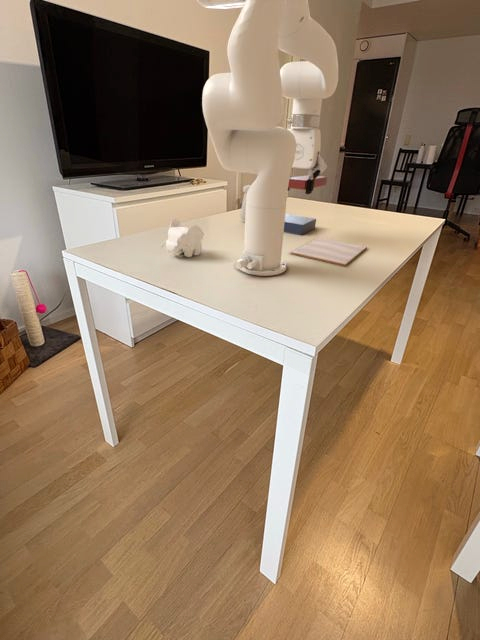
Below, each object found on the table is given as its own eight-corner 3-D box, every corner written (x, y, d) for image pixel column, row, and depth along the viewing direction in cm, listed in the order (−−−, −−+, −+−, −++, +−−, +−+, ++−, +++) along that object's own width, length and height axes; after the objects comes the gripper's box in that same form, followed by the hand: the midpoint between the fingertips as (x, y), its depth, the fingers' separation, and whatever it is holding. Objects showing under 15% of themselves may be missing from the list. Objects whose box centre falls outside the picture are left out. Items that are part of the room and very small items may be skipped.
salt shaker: (253, 224, 129) (255, 187, 122) (238, 222, 129) (239, 186, 123) (255, 220, 134) (257, 185, 127) (241, 219, 134) (242, 184, 128)
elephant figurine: (155, 255, 94) (152, 222, 89) (189, 246, 101) (188, 216, 97) (177, 264, 88) (175, 229, 84) (211, 254, 96) (211, 222, 91)
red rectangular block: (304, 189, 98) (305, 180, 97) (284, 187, 101) (285, 178, 100) (325, 185, 112) (327, 176, 111) (307, 183, 115) (308, 175, 114)
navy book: (301, 235, 117) (302, 224, 115) (258, 226, 125) (259, 217, 123) (315, 228, 126) (316, 218, 124) (274, 221, 134) (275, 212, 132)
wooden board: (345, 266, 91) (345, 264, 91) (290, 254, 98) (291, 252, 98) (366, 248, 106) (366, 246, 105) (317, 239, 113) (318, 237, 113)
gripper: (270, 122, 95) (265, 190, 103) (330, 123, 87) (320, 197, 96) (282, 123, 101) (276, 188, 109) (340, 125, 93) (329, 194, 101)
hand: (297, 191), depth 102 cm, fingers closed on red rectangular block, 6 cm apart
